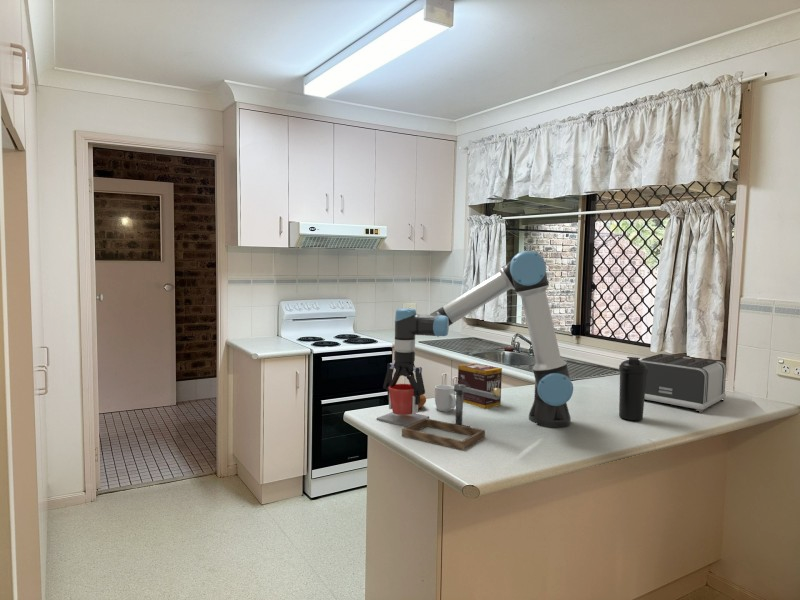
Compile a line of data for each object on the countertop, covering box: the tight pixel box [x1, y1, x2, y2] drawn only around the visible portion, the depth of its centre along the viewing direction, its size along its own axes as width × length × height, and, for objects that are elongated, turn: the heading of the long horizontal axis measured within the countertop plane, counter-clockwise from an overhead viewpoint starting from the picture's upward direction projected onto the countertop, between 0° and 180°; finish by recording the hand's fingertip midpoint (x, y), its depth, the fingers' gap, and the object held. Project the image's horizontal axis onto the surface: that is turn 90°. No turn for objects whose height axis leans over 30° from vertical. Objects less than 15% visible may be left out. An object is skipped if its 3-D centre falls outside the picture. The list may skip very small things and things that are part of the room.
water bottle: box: [618, 356, 648, 421], centre depth 216 cm, size 10×10×23 cm
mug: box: [434, 384, 456, 412], centre depth 219 cm, size 11×8×9 cm
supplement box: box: [457, 362, 503, 410], centre depth 232 cm, size 10×15×16 cm
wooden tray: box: [401, 418, 486, 451], centre depth 187 cm, size 23×16×2 cm
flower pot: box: [389, 383, 415, 415], centre depth 206 cm, size 11×11×10 cm
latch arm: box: [453, 383, 502, 400], centre depth 189 cm, size 4×19×4 cm, turn 43°
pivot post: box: [454, 392, 471, 427], centre depth 196 cm, size 6×6×13 cm
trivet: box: [376, 411, 430, 427], centre depth 206 cm, size 14×14×1 cm
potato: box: [418, 394, 427, 409], centre depth 222 cm, size 9×11×8 cm
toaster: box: [639, 353, 727, 413], centre depth 248 cm, size 31×36×18 cm
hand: (403, 410), depth 206 cm, fingers closed on flower pot, 10 cm apart
